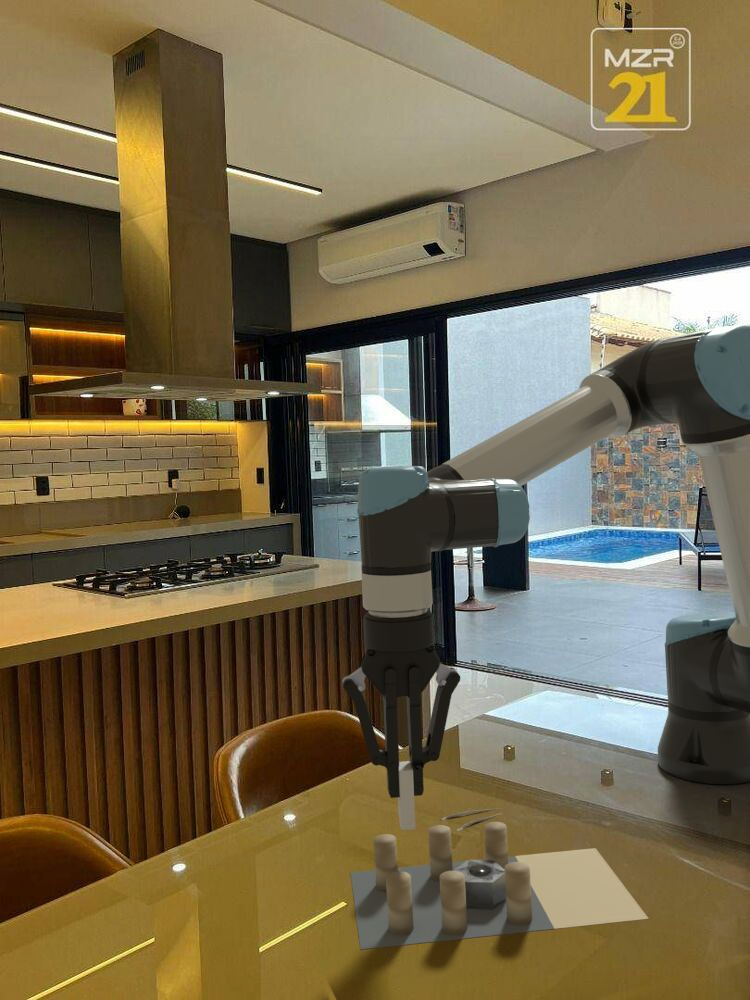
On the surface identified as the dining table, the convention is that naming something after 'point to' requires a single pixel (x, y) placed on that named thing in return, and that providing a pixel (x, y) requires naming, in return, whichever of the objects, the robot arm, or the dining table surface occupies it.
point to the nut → (483, 884)
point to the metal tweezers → (470, 814)
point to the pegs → (449, 880)
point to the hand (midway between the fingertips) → (407, 824)
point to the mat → (554, 899)
